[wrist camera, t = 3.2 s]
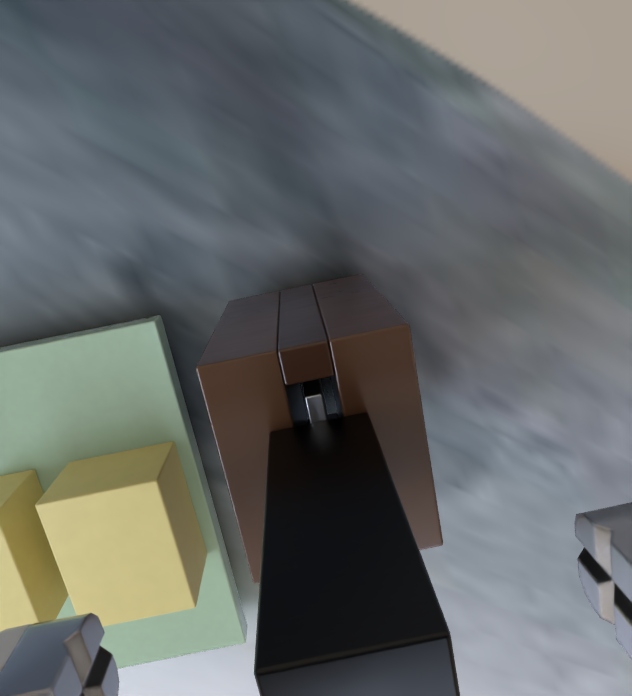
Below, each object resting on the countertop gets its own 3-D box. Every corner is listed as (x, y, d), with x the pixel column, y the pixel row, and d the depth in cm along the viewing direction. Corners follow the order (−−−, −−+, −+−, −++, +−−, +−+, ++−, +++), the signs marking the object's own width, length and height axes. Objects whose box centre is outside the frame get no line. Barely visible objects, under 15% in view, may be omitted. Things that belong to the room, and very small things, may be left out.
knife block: (228, 300, 21) (194, 366, 13) (363, 273, 21) (409, 322, 13) (264, 448, 22) (253, 585, 15) (389, 422, 22) (444, 546, 15)
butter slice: (-5, 476, 21) (-51, 522, 18) (35, 468, 21) (-5, 512, 18) (39, 588, 22) (3, 647, 19) (76, 580, 22) (45, 639, 19)
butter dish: (-108, 369, 21) (-128, 377, 20) (161, 314, 21) (155, 320, 20) (20, 671, 24) (9, 691, 24) (247, 625, 24) (246, 643, 24)
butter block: (68, 461, 21) (33, 505, 18) (174, 440, 21) (156, 480, 18) (108, 574, 22) (81, 631, 19) (207, 554, 22) (196, 608, 19)
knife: (271, 326, 21) (239, 628, 7) (334, 313, 21) (443, 587, 7) (290, 412, 22) (300, 842, 8) (350, 400, 22) (478, 807, 7)
